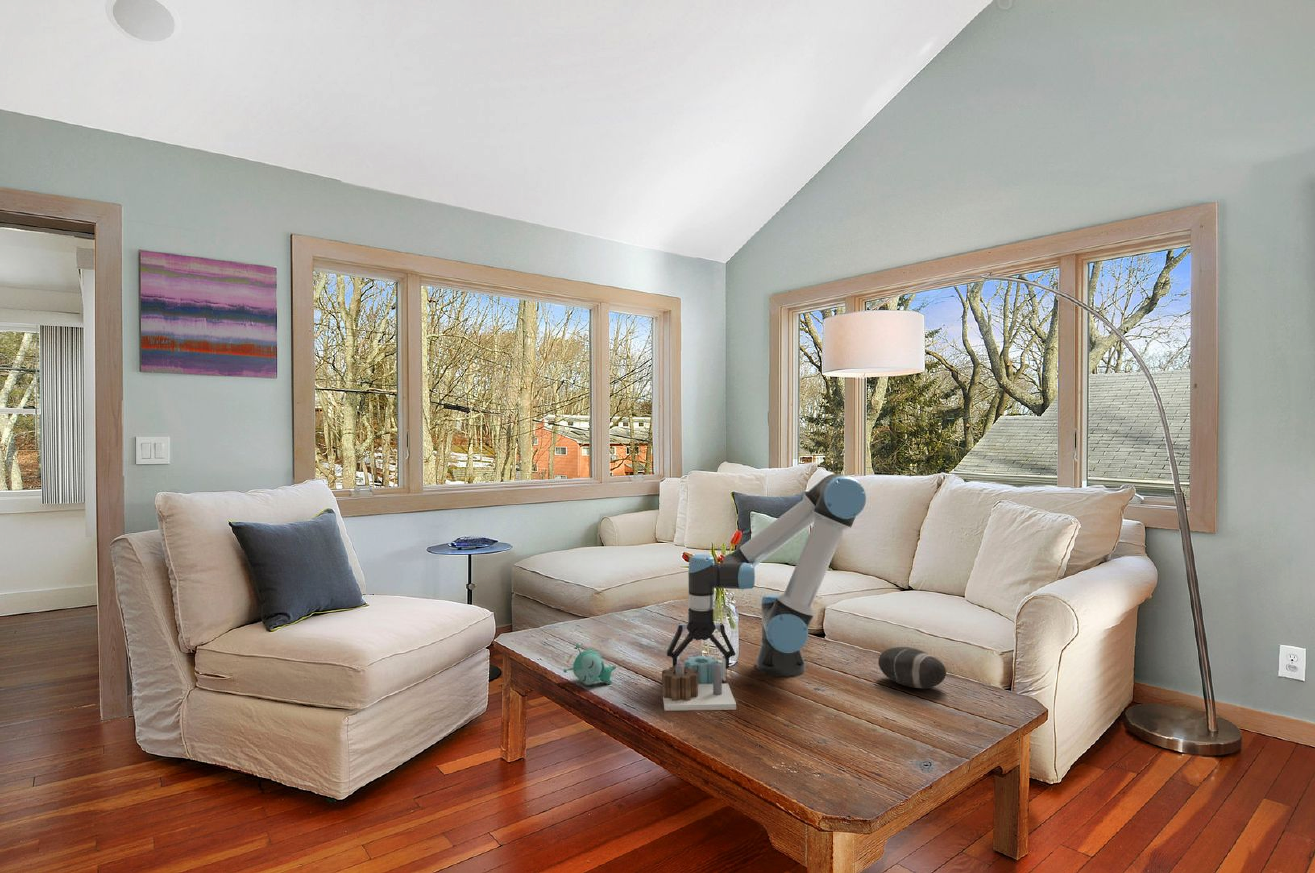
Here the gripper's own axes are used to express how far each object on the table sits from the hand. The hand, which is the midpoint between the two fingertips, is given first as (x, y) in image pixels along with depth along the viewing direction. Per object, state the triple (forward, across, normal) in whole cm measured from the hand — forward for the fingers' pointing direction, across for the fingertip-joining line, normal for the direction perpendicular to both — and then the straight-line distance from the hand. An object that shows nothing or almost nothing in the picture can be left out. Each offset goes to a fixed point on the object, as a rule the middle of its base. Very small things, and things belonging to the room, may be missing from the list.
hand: (700, 679), depth 204 cm
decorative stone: (0, -61, +6) cm, 61 cm away
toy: (-1, +26, 0) cm, 26 cm away
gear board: (0, +2, +14) cm, 14 cm away
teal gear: (0, 0, 0) cm, 1 cm away
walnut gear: (-1, +7, +14) cm, 16 cm away
